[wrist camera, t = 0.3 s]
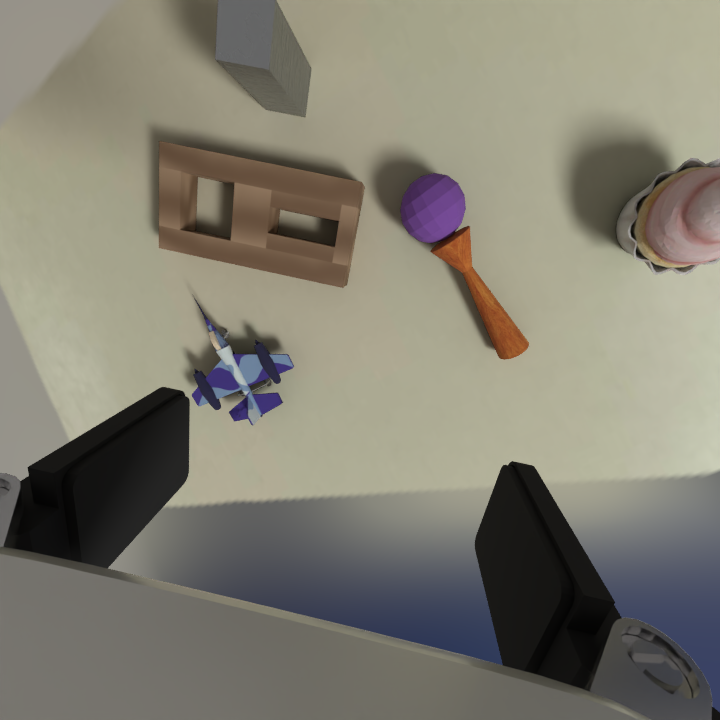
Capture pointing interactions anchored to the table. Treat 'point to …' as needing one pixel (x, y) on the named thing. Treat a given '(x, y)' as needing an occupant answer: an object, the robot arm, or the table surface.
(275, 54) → the square peg
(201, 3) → the table surface
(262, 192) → the socket block
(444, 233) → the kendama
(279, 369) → the toy airplane
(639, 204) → the cupcake
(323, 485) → the table surface
